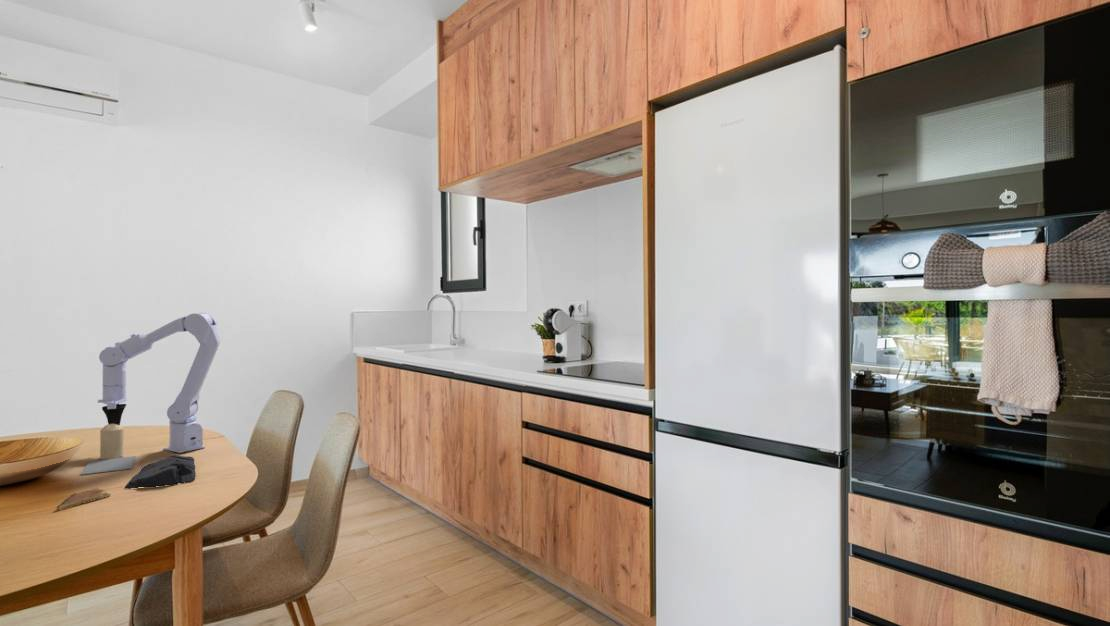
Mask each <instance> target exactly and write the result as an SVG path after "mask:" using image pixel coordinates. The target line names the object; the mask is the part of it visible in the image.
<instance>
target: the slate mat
mask: <svg viewBox="0 0 1110 626" xmlns="http://www.w3.org/2000/svg"><path fill="white" fill-rule="evenodd" d="M136 458H137V455H134V456H125V457H123V456H122V457H120V458H114V459H99V460H98V459H96V460H89V461H88V462H87V464H86V466H85V467H84V469H83V470H82V472H81V473H80V476H86V475H85V474H89V475H94V474H93V473H97V474H101V473H100V472H105V473H110V472H109V471H113V472H119V471H118V470H121V471H126V470H125V469H129V470H132V469H133V466H134V464H135V462H136ZM134 461H135V462H134Z"/></svg>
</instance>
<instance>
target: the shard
mask: <svg viewBox="0 0 1110 626" xmlns="http://www.w3.org/2000/svg"><path fill="white" fill-rule="evenodd" d="M106 496H110V497H111V493H110V492H109V491H108V490H105V489H101V488H98V487H95V488H91V489H87V490H83V491H80V492H76V493H73V494H71V495H69V496H68V497H67V498H65V499H64V500H63V501H62V502H61V503H60V504H59V505H57V506H56V509H58V511H59V510H60V509H63V510H65V509H64V508H67V509H69V508H68V507H70V508H72V507H71V506H73V507H75V506H74V505H77V504H80V505H82V504H81V503H84V502H87V503H89V502H88V501H91V500H94V499H98V500H100V499H99V498H102V497H106ZM106 498H107V497H106ZM102 499H103V498H102ZM91 502H92V501H91ZM84 504H85V503H84ZM77 506H78V505H77ZM60 511H61V510H60Z"/></svg>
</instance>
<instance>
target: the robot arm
mask: <svg viewBox="0 0 1110 626" xmlns="http://www.w3.org/2000/svg"><path fill="white" fill-rule="evenodd" d="M217 326H218V323H217V322H216V320H215V319H214V318H213V316H212V315H211V314H209V313H206V312H199V313H190V314H188V315H187V316H182V317H179V318H176V319H174V320H172V321H170V322H168V323H167V324H164V325H162V326H160V327H159V328H157V329H155V330H153V331H151V332H148V333H147V334H144V333H138V334H137V333H133V334H131V335H130V337H129V338H127V339H126V340H123V341H117V342H116V343H114V345H115V346H107V347H106V348H104V349H103V350H101V351H100V353H99V356H98V359H99V361H100V363H101V364H102V399H98V400H97V403H102V404H103V406H102V407H101V410H102V411H103V413H104V414H105V417H106V419H107V425H108V424H117V425H119V426H121V420H122V417H123V416H122V415H123V413H124V411H125V408H126V407H127V404H126V403H124V402H127V401H128V399H127V365H126V364H127V362H128V361H129V360H130V359H133V358H135V357H137V356H139V355H142V354H143V353H145V352H148V351H149V350H151V349H152V347H153V344H154V343H156V342H159V341H160V340H163V339H165V338H168V337H169V336H171V335H174V334H177V333H181V332H182V333H183V332H188V333H190V334H191V335H192V336H194V338H195V339H196V340H197V342H198V343H199V344H200V345H199V347H198V349H197V353H196V355H195V357H194V360H193V362H192V364H191V367H190V369H189V371H188V374H187V377H186V378H185V381H184V384H183V386H182V388H181V390H180V391H179V393H178V395H177V396H176V397H175V400H174V402H173V403H172V404H171V405H170V406H169V407H168V408H167V411H166V415H167V417H168V419H169V445H168V446H164V447H162V450H166V451H169V452H175V453H178V454H179V453H180V454H182V453H186V452H190V451H194V450H199V449H204V448H206V445H204V444H203V443H204V442H203V440H204V439H203V438H204V437H203V433H204V432H203V427H202V425H201V424H200V423H198V422H197V416H196V413H198V411H199V400H200V393H201V390H202V387H203V385H204V382H205V380H206V377H207V375H208V373H209V370H210V368H211V365H212V363H213V360H214V358H215V356H216V353H217V351H218V348H219V345H220V344H221V343H220V342H221V341H220V336H219V332H218V328H217ZM104 405H105V406H104Z"/></svg>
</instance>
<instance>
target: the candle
mask: <svg viewBox="0 0 1110 626" xmlns="http://www.w3.org/2000/svg"><path fill="white" fill-rule="evenodd" d="M124 429H125V428H124V427H123V426H122V425H120V426H119V425H117V424H108V423H107V424H106V425H104V427H102V428H101V429H100V432H99V434H100V439H99V440H100V442H99V443H100V445H99V446H100V448H99V451H100V455H99V456H100V458H99V459H100V460H106V459H114V458H123V456H124V451H125V450H124V449H125V448H124V446H125V445H124V444H125V443H124V440H125V438H124V435H125V434H124V431H125V430H124Z"/></svg>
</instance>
